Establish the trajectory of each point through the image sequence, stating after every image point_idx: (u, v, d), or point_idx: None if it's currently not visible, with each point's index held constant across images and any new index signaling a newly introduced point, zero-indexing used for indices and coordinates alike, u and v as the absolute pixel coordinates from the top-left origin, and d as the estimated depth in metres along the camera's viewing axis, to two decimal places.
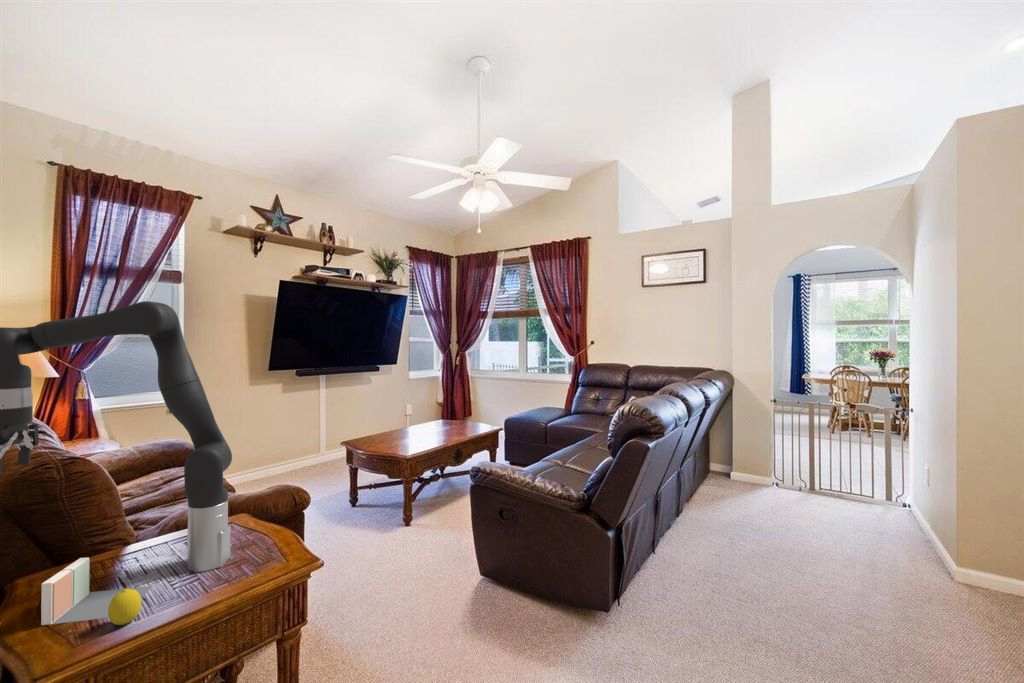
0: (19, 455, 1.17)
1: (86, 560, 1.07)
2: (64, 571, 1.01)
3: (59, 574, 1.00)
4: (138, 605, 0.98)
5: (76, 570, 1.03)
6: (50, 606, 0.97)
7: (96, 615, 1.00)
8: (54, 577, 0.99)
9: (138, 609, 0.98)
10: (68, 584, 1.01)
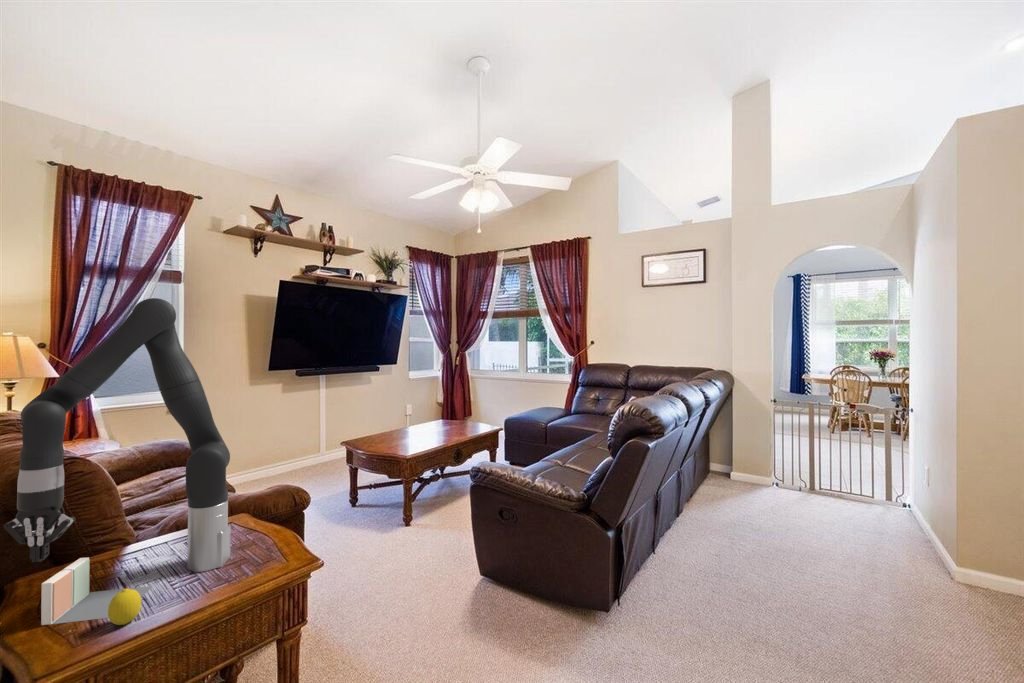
0: (36, 551, 1.03)
1: (86, 560, 1.07)
2: (64, 571, 1.01)
3: (59, 574, 1.00)
4: (138, 605, 0.98)
5: (76, 570, 1.03)
6: (50, 606, 0.97)
7: (96, 615, 1.00)
8: (54, 577, 0.99)
9: (138, 609, 0.98)
10: (68, 584, 1.01)
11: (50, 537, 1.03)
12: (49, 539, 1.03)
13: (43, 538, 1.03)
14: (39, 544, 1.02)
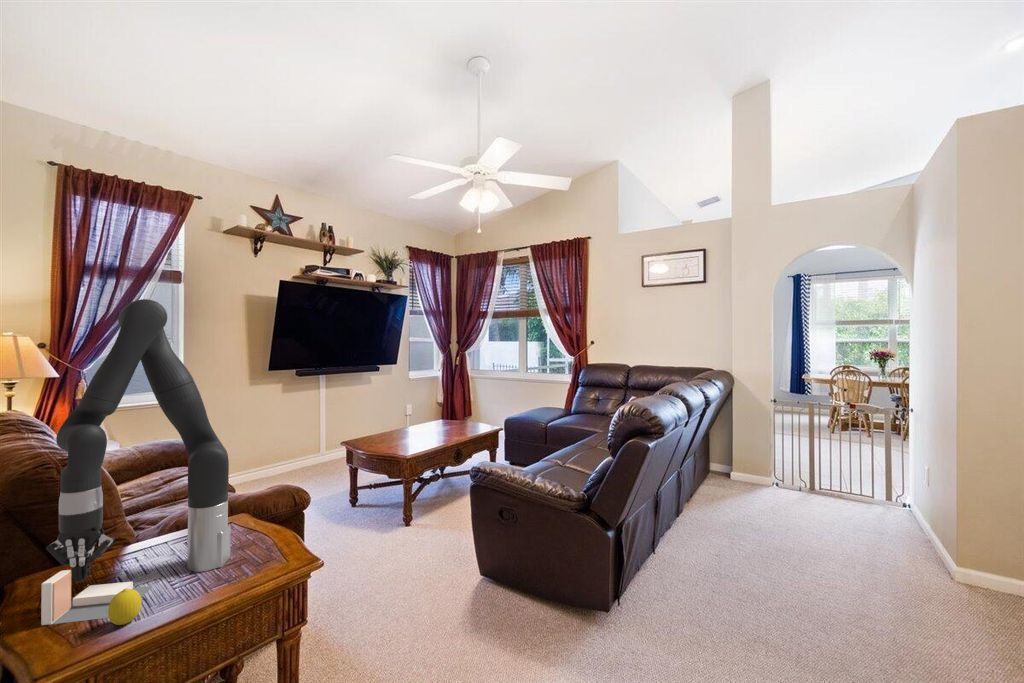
0: (78, 571, 1.04)
1: None
2: (64, 571, 1.01)
3: (59, 574, 1.00)
4: (138, 605, 0.98)
5: None
6: (50, 606, 0.97)
7: (96, 615, 1.00)
8: (54, 577, 0.99)
9: (138, 609, 0.98)
10: (68, 584, 1.01)
11: (91, 557, 1.05)
12: (90, 559, 1.05)
13: (85, 559, 1.05)
14: (81, 565, 1.04)
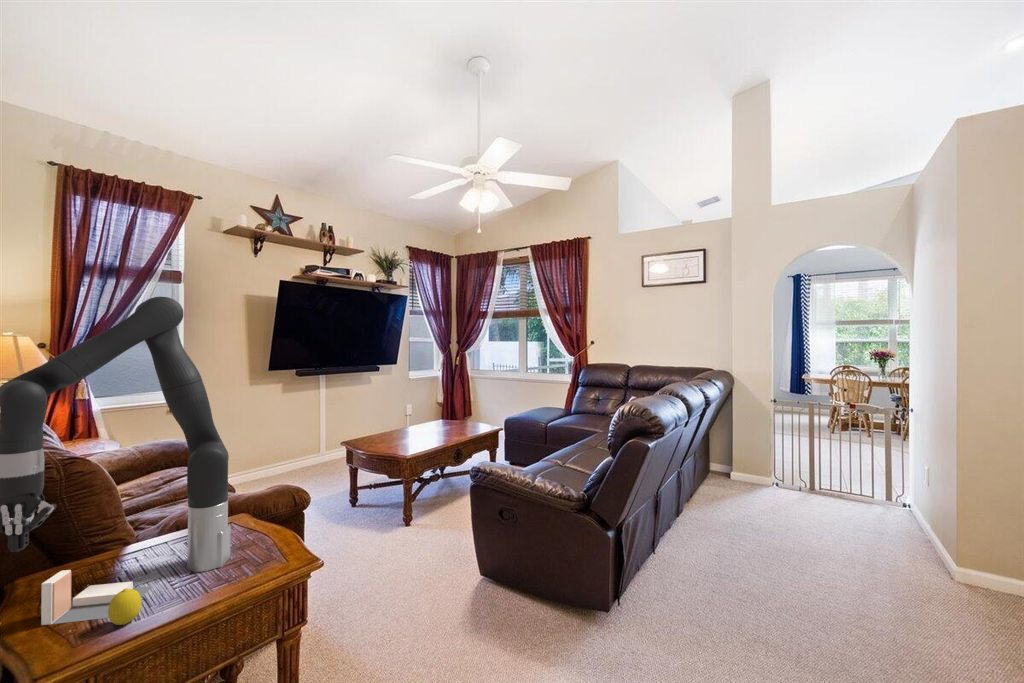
0: (15, 540, 0.97)
1: None
2: (64, 571, 1.01)
3: (59, 574, 1.00)
4: (138, 605, 0.98)
5: None
6: (50, 606, 0.97)
7: (96, 615, 1.00)
8: (54, 577, 0.99)
9: (138, 609, 0.98)
10: (68, 584, 1.01)
11: (29, 525, 0.97)
12: (28, 527, 0.97)
13: (22, 526, 0.97)
14: (18, 533, 0.96)
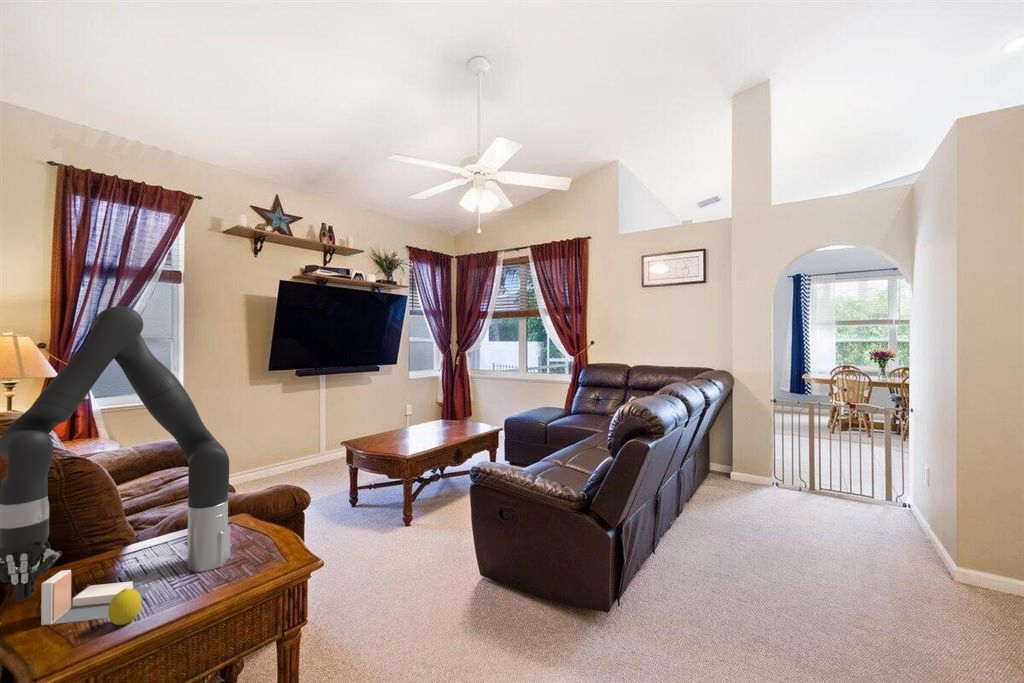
0: (20, 589, 0.97)
1: None
2: (64, 571, 1.01)
3: (59, 574, 1.00)
4: (138, 605, 0.98)
5: None
6: (50, 606, 0.97)
7: (96, 615, 1.00)
8: (54, 577, 0.99)
9: (138, 609, 0.98)
10: (68, 584, 1.01)
11: (35, 574, 0.97)
12: (34, 576, 0.97)
13: (28, 575, 0.97)
14: (23, 582, 0.97)
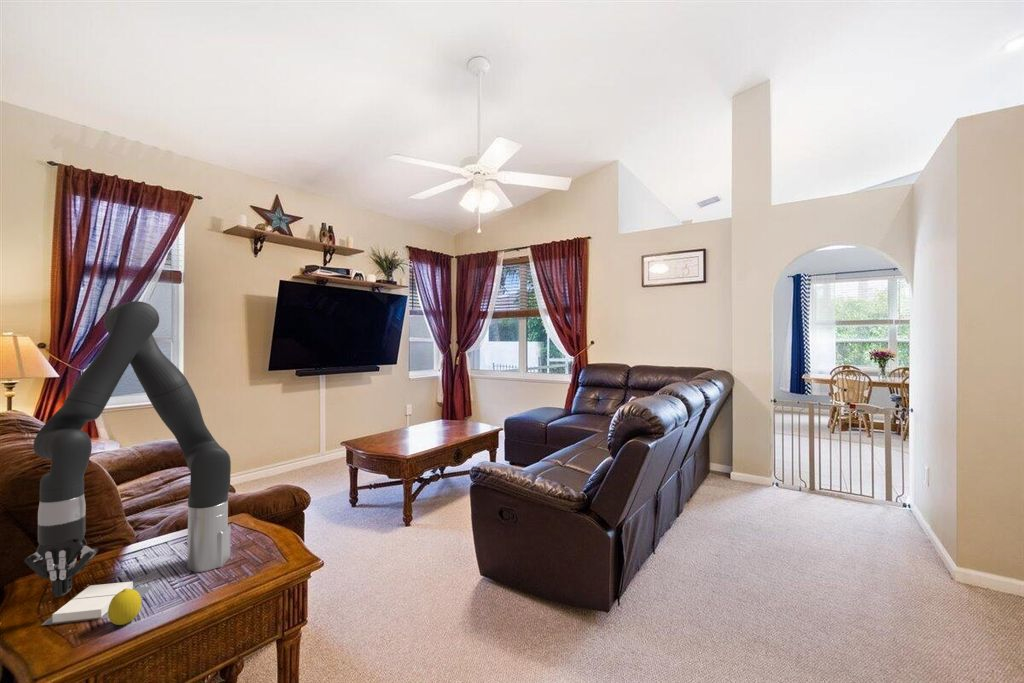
0: (59, 585, 0.99)
1: None
2: None
3: None
4: (138, 605, 0.98)
5: None
6: (73, 619, 0.98)
7: None
8: (108, 606, 1.01)
9: (138, 609, 0.98)
10: None
11: (73, 570, 0.99)
12: (72, 572, 0.99)
13: (66, 572, 0.99)
14: (62, 578, 0.98)
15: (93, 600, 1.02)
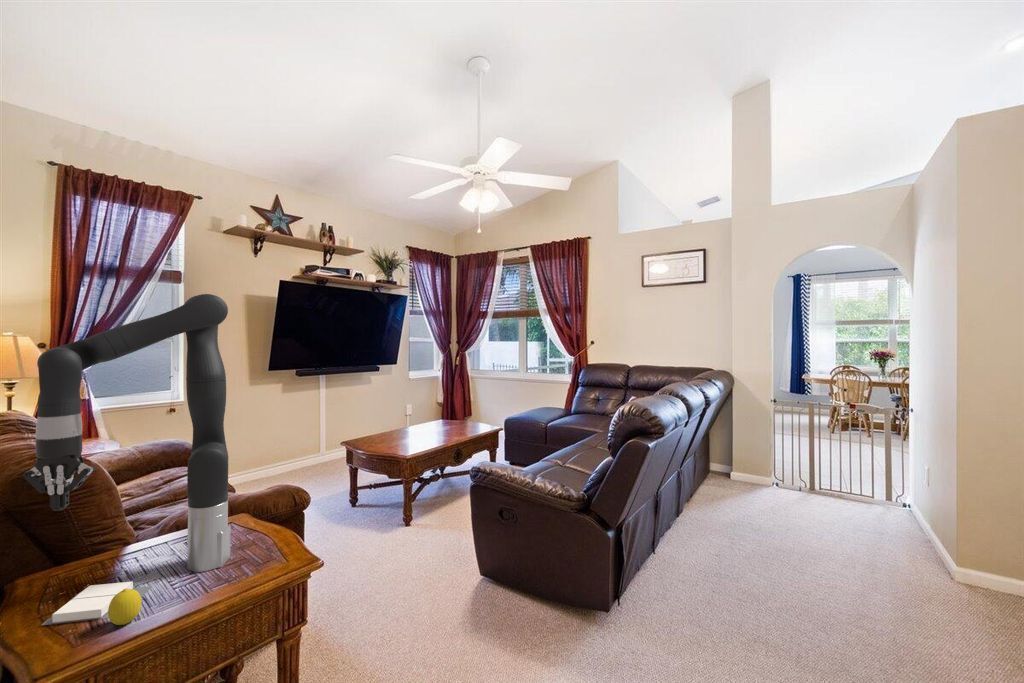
0: (56, 500, 1.01)
1: None
2: None
3: None
4: (138, 605, 0.98)
5: None
6: (73, 619, 0.98)
7: None
8: (108, 606, 1.01)
9: (138, 609, 0.98)
10: None
11: (70, 485, 1.02)
12: (69, 487, 1.02)
13: (63, 486, 1.02)
14: (59, 492, 1.01)
15: (93, 600, 1.02)
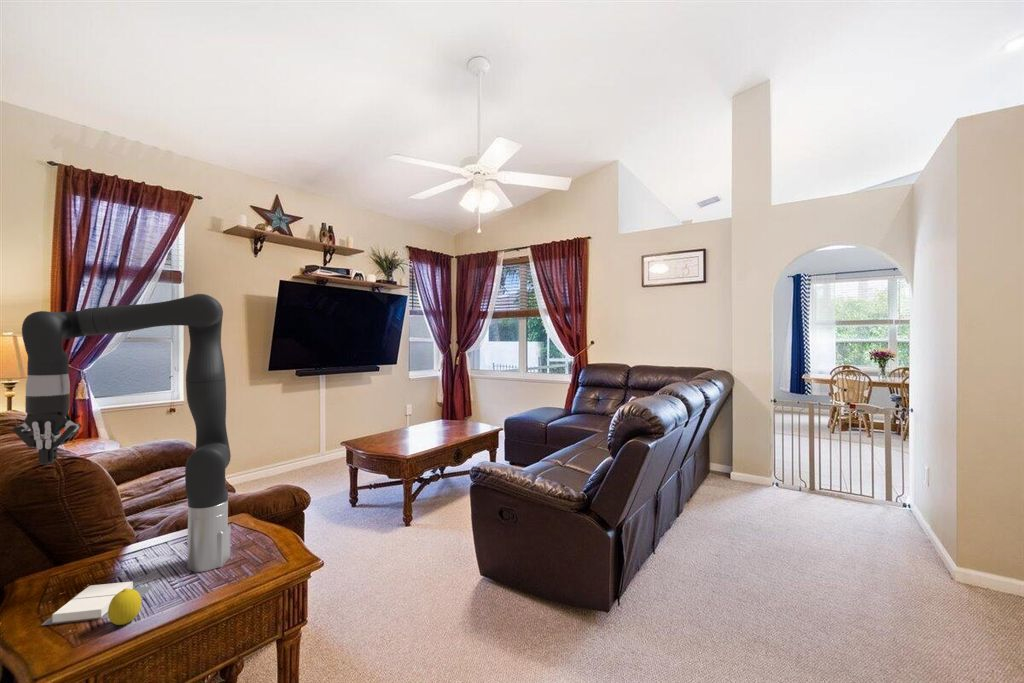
0: (44, 454, 1.08)
1: None
2: None
3: None
4: (138, 605, 0.98)
5: None
6: (73, 619, 0.98)
7: None
8: (108, 606, 1.01)
9: (138, 609, 0.98)
10: None
11: (58, 441, 1.08)
12: (57, 443, 1.08)
13: (51, 442, 1.08)
14: (47, 447, 1.08)
15: (93, 600, 1.02)
